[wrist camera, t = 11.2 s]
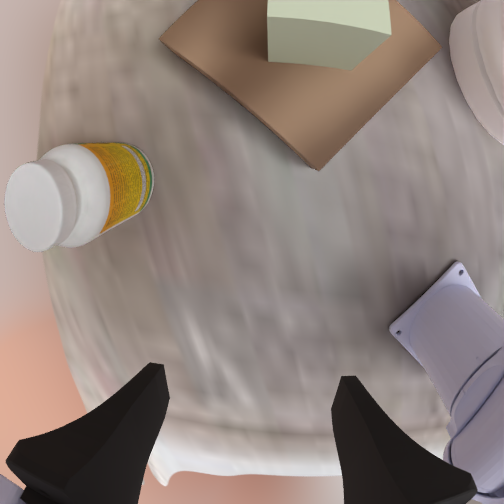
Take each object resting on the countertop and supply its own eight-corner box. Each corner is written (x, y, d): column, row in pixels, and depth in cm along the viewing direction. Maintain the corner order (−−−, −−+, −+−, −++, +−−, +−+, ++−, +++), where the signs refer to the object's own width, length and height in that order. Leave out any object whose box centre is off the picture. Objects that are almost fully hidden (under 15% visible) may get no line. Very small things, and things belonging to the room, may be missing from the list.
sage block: (349, 5, 12) (380, -47, 6) (351, 70, 13) (391, 35, 8) (270, -4, 12) (270, -63, 6) (268, 61, 13) (267, 16, 8)
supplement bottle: (113, 230, 20) (29, 285, 11) (80, 169, 19) (-16, 193, 10) (171, 193, 19) (95, 232, 10) (134, 126, 18) (39, 120, 9)
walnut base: (422, 57, 15) (442, 47, 12) (311, 167, 18) (318, 171, 15) (293, -47, 13) (295, -69, 10) (173, 52, 16) (158, 38, 13)
